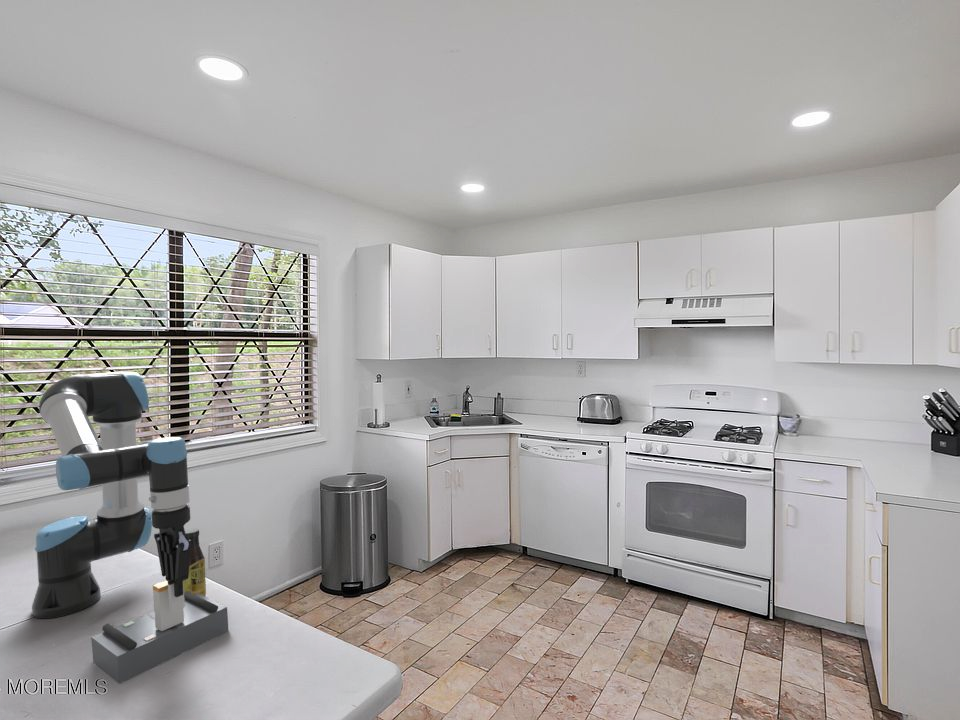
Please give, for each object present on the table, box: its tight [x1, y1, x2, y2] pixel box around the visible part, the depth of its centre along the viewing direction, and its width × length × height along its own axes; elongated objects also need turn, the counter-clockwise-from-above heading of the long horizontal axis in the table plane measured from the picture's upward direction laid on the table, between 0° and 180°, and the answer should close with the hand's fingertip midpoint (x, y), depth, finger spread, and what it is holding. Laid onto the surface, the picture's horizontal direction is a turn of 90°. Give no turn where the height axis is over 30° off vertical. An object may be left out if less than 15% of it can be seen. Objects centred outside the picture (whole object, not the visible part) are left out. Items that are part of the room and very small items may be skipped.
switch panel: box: [90, 593, 229, 685], centre depth 126 cm, size 14×24×6 cm, turn 145°
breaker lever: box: [152, 579, 184, 631], centre depth 123 cm, size 3×5×10 cm, turn 145°
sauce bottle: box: [183, 528, 207, 599], centre depth 147 cm, size 7×6×20 cm
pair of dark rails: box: [101, 591, 218, 650], centre depth 126 cm, size 14×20×2 cm
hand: (177, 608), depth 121 cm, fingers closed
